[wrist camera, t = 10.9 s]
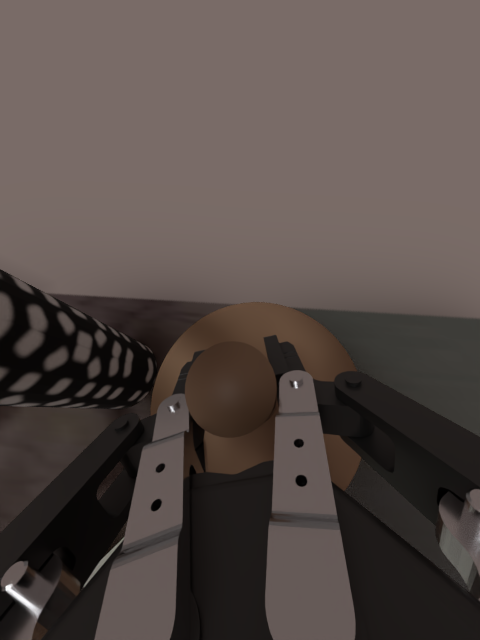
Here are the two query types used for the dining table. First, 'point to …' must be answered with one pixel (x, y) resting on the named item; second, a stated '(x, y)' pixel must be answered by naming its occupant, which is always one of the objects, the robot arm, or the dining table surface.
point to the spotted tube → (65, 355)
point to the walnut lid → (250, 383)
